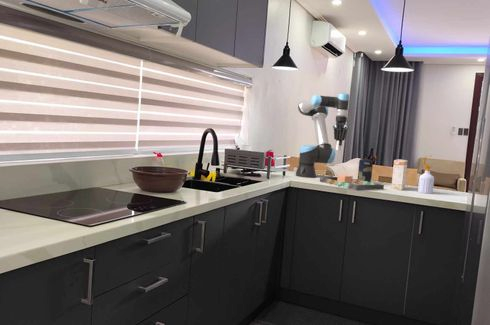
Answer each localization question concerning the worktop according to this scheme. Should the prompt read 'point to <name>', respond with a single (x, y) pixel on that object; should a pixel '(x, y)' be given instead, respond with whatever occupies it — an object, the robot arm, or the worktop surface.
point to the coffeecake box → (399, 174)
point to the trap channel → (362, 184)
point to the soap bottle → (426, 181)
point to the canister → (365, 170)
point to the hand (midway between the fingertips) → (338, 150)
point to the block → (345, 178)
